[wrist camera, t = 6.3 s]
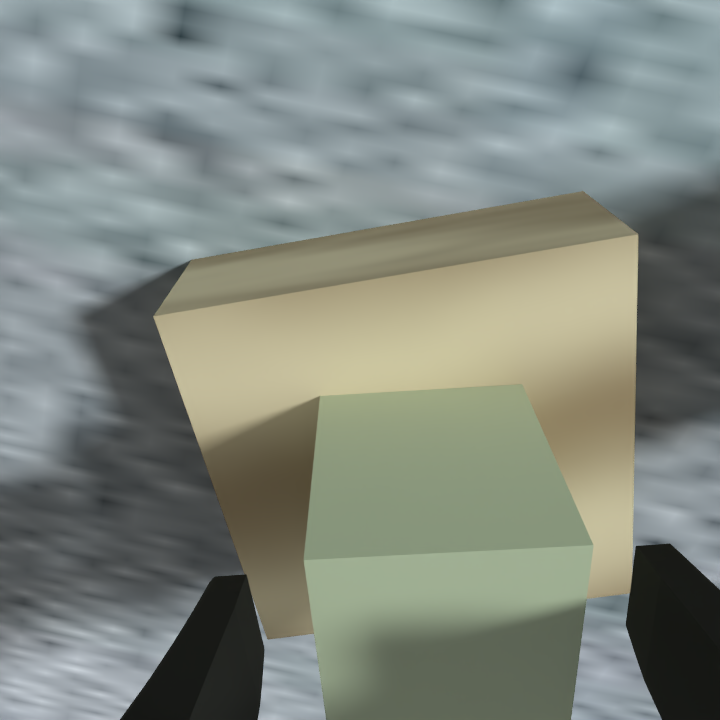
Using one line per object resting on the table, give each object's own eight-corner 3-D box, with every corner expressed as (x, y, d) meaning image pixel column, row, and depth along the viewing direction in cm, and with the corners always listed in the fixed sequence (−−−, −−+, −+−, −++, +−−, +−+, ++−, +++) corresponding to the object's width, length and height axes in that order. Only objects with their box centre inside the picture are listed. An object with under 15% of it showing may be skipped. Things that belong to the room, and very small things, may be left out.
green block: (513, 538, 17) (570, 727, 12) (336, 547, 17) (329, 737, 12) (521, 384, 15) (593, 545, 10) (320, 396, 15) (303, 559, 10)
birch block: (585, 496, 21) (631, 592, 18) (282, 538, 22) (267, 639, 18) (578, 187, 17) (638, 234, 13) (194, 254, 17) (153, 316, 14)
